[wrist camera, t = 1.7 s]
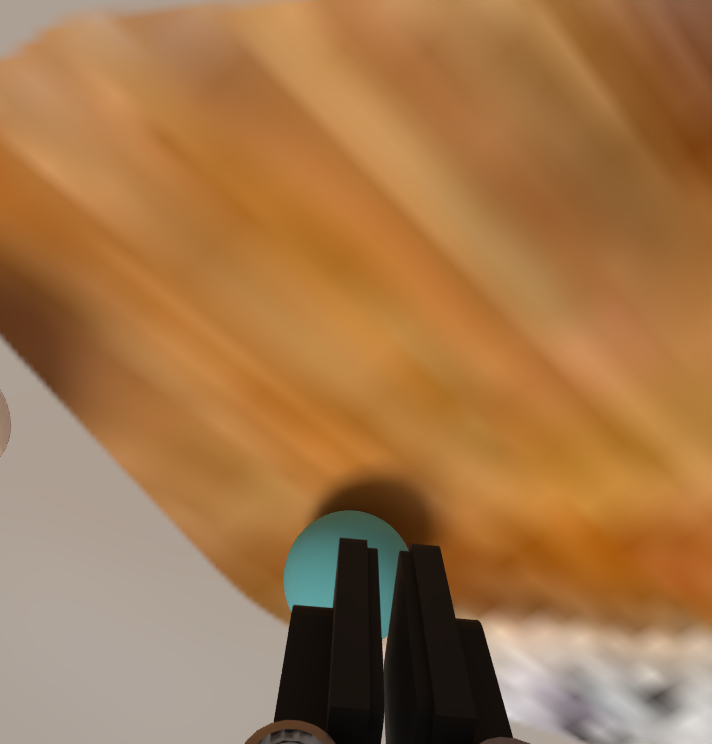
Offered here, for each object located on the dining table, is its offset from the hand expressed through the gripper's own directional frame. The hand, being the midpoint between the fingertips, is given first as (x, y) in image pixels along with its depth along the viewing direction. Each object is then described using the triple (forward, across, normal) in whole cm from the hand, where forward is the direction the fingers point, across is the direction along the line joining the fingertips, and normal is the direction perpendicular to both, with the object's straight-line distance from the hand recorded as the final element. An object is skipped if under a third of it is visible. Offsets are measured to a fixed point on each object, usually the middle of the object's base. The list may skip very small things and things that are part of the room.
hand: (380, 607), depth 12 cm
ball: (+14, 0, +10) cm, 17 cm away
